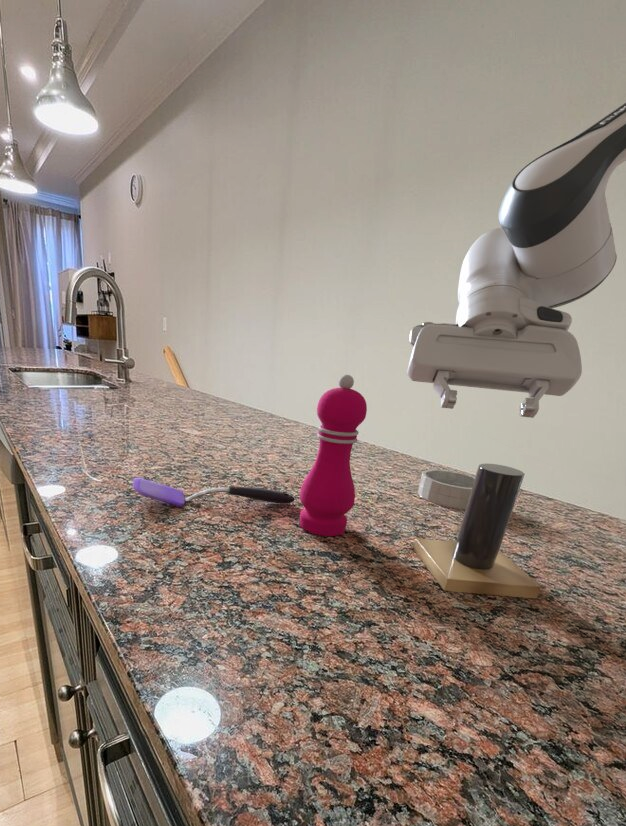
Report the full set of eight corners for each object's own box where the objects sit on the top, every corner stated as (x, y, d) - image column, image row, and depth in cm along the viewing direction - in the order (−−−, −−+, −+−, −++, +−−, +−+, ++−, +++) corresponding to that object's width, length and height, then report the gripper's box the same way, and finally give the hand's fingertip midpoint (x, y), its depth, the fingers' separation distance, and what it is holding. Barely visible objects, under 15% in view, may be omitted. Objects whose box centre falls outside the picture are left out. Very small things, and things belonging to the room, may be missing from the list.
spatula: (288, 496, 71) (290, 481, 70) (299, 512, 65) (301, 496, 64) (134, 491, 67) (134, 475, 66) (130, 508, 61) (130, 491, 60)
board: (490, 555, 57) (494, 544, 56) (536, 599, 48) (541, 586, 47) (412, 548, 57) (415, 538, 56) (444, 590, 48) (447, 578, 47)
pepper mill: (310, 512, 65) (332, 370, 58) (356, 527, 62) (387, 377, 54) (285, 526, 60) (306, 371, 52) (334, 543, 56) (365, 379, 49)
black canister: (482, 553, 54) (510, 465, 50) (501, 571, 50) (533, 477, 46) (446, 550, 54) (471, 461, 50) (462, 568, 50) (491, 473, 45)
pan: (464, 493, 81) (470, 472, 79) (492, 515, 71) (500, 491, 70) (408, 488, 81) (413, 467, 79) (429, 509, 71) (435, 485, 70)
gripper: (416, 303, 60) (407, 384, 55) (585, 315, 56) (592, 403, 51) (406, 339, 66) (397, 415, 61) (559, 351, 62) (563, 434, 57)
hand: (488, 409), depth 56 cm, fingers open, 8 cm apart
